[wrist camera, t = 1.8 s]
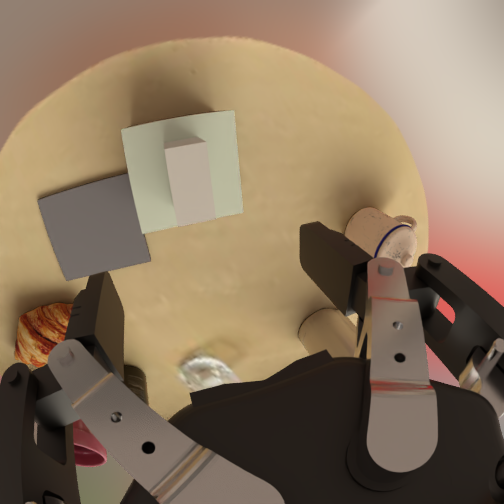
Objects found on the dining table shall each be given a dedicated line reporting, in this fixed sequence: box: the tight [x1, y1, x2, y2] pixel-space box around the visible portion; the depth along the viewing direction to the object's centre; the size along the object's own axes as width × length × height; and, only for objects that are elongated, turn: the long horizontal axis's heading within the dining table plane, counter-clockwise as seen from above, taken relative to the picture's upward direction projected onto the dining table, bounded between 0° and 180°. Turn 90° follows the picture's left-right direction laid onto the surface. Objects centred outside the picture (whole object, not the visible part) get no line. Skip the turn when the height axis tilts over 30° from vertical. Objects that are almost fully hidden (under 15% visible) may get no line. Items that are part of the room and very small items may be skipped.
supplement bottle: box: [121, 366, 149, 406], centre depth 40 cm, size 7×7×12 cm
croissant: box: [14, 303, 73, 367], centre depth 33 cm, size 21×10×8 cm, turn 118°
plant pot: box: [73, 419, 107, 467], centre depth 39 cm, size 14×14×13 cm
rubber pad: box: [38, 173, 151, 281], centre depth 31 cm, size 13×12×1 cm
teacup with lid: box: [345, 207, 417, 268], centre depth 41 cm, size 12×9×12 cm
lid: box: [121, 110, 244, 234], centre depth 23 cm, size 10×10×7 cm
